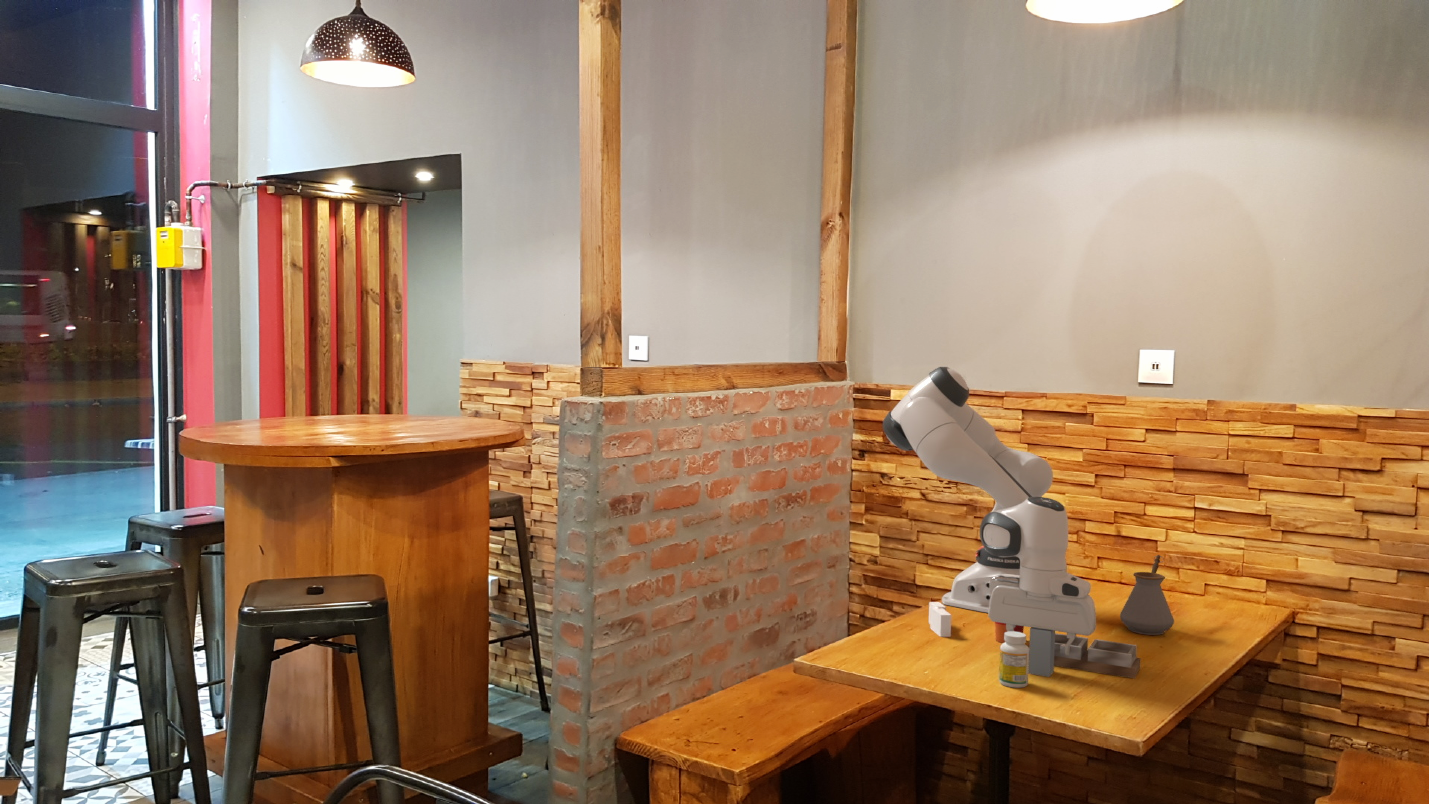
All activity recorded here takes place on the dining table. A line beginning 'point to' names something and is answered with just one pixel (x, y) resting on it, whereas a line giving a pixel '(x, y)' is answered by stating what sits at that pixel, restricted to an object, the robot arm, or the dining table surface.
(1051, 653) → the gray rectangular block
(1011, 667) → the supplement bottle
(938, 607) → the white notched slab
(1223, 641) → the dining table surface
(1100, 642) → the two-compartment tray
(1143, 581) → the coffee pot
